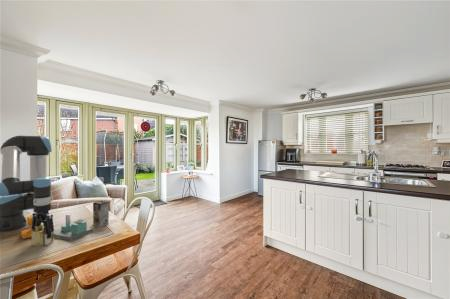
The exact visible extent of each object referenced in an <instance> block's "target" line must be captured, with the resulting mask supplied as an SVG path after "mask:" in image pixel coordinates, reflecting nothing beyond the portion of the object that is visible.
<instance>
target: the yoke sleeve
mask: <svg viewBox="0 0 450 299" xmlns="http://www.w3.org/2000/svg"><path fill="white" fill-rule="evenodd" d="M54 231H55V230H54ZM54 231H53V232H51V243H52V242H54V241H55V237H54ZM44 233H46V232H45V228H44V225H43V224H41V225H38V226H36V230H33V231H32V237H31V246H35V247H39V248H40V247H42V246H46V245H45V234H44Z"/></svg>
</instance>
